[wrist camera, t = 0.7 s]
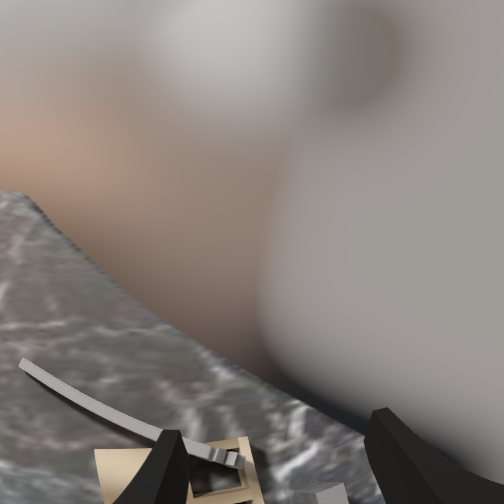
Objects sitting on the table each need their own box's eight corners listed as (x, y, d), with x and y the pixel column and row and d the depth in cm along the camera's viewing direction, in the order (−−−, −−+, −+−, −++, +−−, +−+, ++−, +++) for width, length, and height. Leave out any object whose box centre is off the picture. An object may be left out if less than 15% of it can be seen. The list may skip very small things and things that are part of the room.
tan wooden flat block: (264, 535, 18) (274, 541, 16) (124, 553, 13) (121, 562, 11) (239, 438, 23) (247, 436, 21) (99, 449, 19) (94, 449, 17)
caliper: (235, 457, 22) (258, 456, 17) (232, 468, 21) (254, 471, 16) (24, 358, 21) (-3, 331, 16) (19, 368, 20) (-10, 343, 15)
